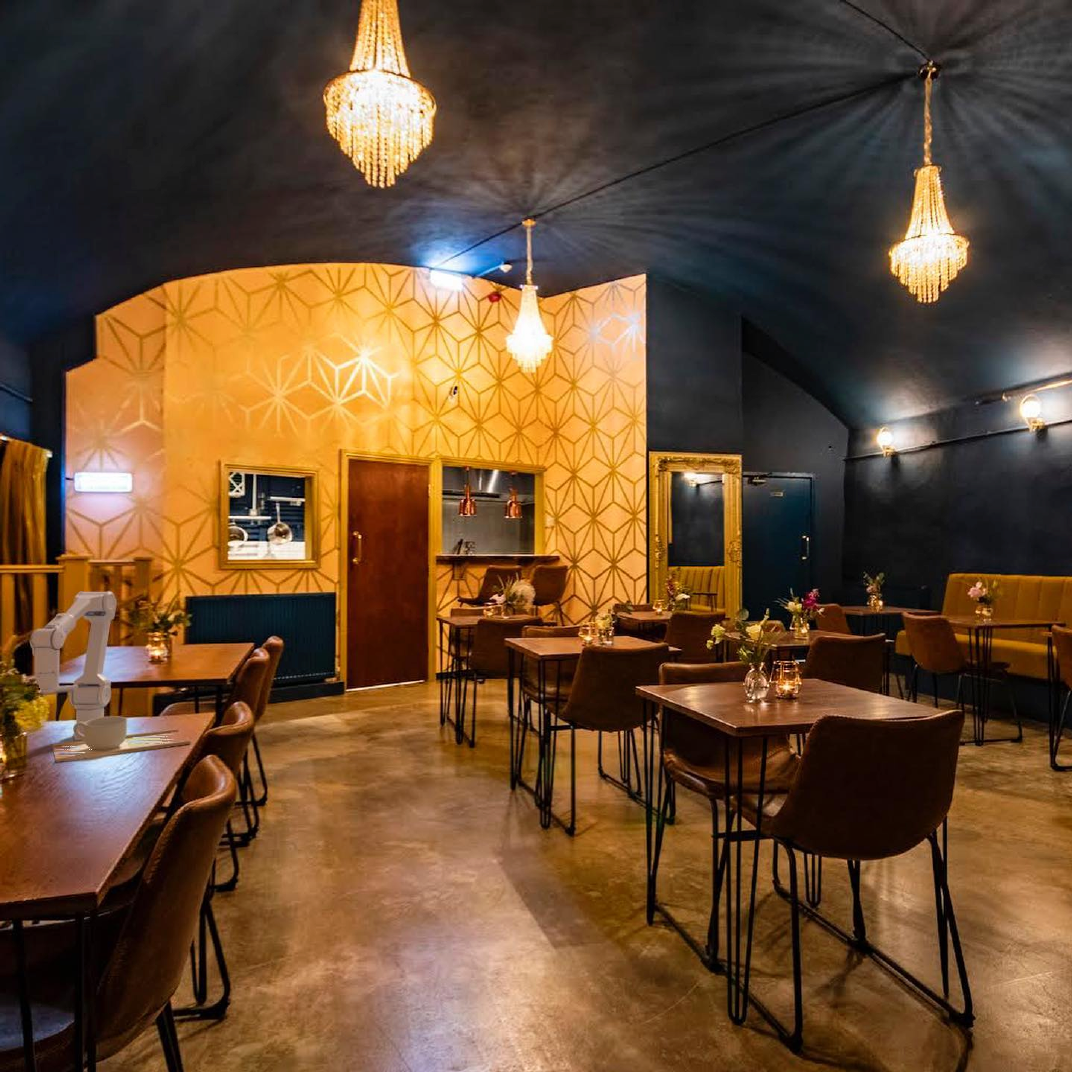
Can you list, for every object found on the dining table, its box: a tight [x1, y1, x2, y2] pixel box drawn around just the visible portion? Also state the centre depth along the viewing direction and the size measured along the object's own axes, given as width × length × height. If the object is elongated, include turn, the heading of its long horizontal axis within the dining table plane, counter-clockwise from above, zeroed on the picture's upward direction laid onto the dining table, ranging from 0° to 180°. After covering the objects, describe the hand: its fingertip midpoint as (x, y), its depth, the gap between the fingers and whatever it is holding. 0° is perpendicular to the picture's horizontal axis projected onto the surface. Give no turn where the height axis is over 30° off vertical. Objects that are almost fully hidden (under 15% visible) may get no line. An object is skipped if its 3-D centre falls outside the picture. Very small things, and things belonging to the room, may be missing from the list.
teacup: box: [72, 715, 128, 751], centre depth 214 cm, size 14×11×8 cm
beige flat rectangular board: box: [51, 728, 191, 763], centre depth 217 cm, size 19×33×1 cm, turn 126°
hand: (46, 721), depth 206 cm, fingers open, 4 cm apart
